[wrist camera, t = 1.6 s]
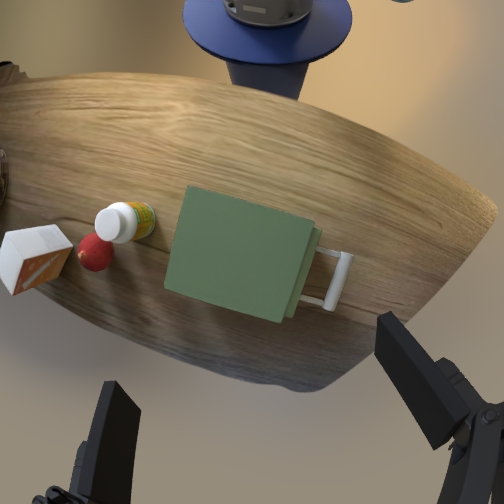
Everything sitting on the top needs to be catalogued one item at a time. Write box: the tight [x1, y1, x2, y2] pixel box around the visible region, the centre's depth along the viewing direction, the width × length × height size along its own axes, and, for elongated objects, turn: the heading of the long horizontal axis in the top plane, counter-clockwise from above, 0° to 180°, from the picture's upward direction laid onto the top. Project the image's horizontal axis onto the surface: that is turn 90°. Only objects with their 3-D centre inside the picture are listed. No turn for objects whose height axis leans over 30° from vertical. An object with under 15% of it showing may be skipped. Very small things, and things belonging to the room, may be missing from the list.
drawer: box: [284, 226, 354, 318], centre depth 33 cm, size 18×10×9 cm, turn 74°
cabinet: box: [164, 185, 314, 323], centre depth 33 cm, size 14×12×11 cm
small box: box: [0, 224, 73, 296], centre depth 34 cm, size 8×6×13 cm
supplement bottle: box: [95, 202, 155, 244], centre depth 34 cm, size 5×5×10 cm
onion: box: [77, 233, 114, 272], centre depth 36 cm, size 6×6×8 cm
